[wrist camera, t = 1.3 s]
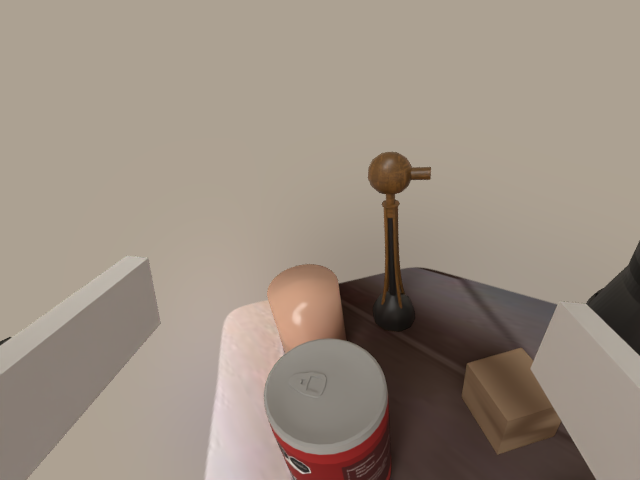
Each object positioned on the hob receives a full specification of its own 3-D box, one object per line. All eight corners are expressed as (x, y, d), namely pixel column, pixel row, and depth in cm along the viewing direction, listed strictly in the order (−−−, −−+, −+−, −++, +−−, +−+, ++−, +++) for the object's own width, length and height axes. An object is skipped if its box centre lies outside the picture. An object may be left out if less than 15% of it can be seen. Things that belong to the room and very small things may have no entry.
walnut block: (511, 382, 31) (521, 347, 28) (554, 436, 27) (570, 401, 24) (461, 397, 30) (466, 363, 28) (497, 455, 26) (507, 421, 24)
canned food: (297, 419, 31) (271, 340, 25) (384, 415, 30) (379, 333, 24) (288, 524, 24) (251, 452, 18) (399, 522, 24) (397, 446, 18)
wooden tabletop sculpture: (424, 304, 40) (431, 141, 29) (423, 334, 37) (431, 161, 26) (375, 300, 42) (365, 144, 31) (370, 328, 38) (356, 163, 28)
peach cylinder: (350, 324, 39) (343, 264, 34) (342, 377, 34) (331, 315, 29) (294, 321, 41) (279, 263, 36) (277, 370, 35) (256, 310, 31)
